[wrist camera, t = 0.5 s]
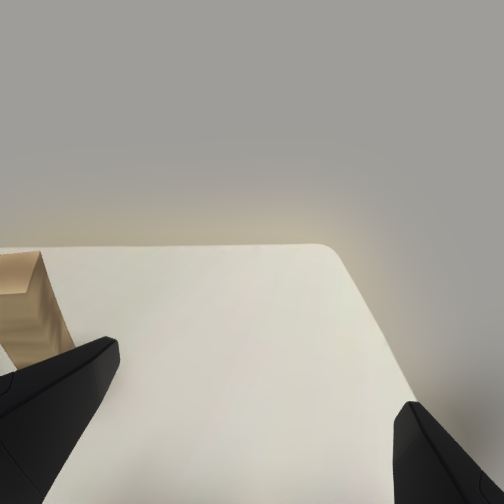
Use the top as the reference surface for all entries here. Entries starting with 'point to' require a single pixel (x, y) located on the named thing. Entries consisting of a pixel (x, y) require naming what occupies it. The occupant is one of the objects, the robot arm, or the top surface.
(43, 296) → the beige block
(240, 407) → the top surface
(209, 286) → the top surface
